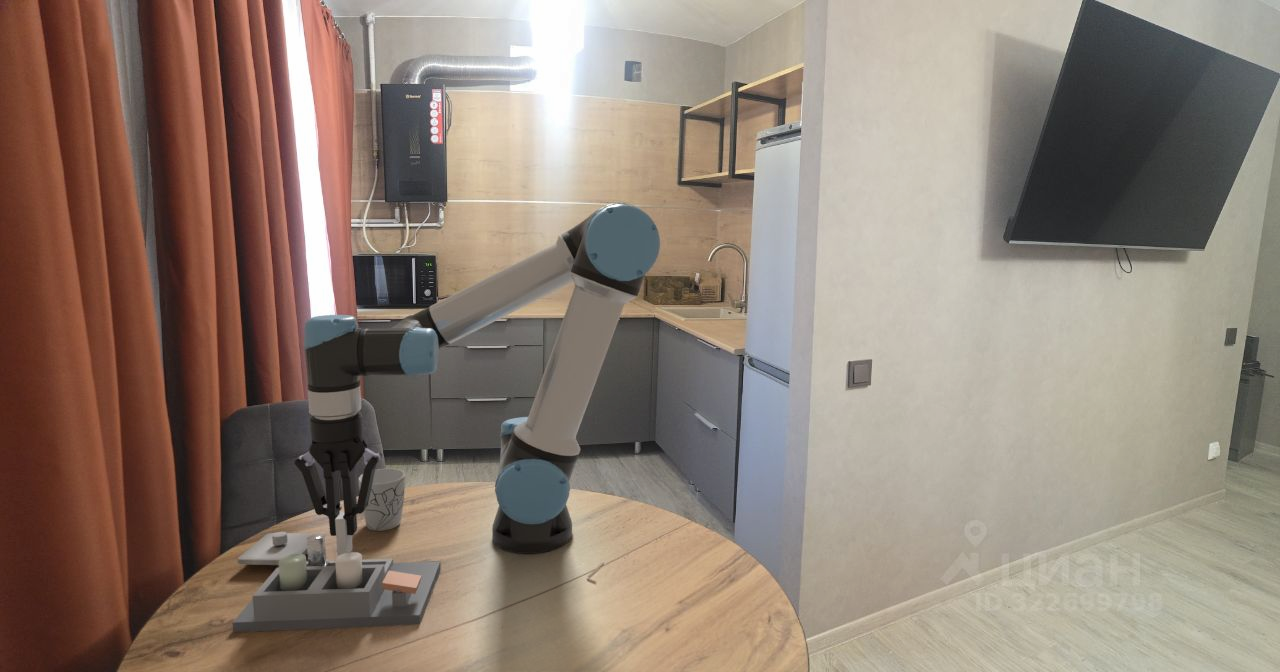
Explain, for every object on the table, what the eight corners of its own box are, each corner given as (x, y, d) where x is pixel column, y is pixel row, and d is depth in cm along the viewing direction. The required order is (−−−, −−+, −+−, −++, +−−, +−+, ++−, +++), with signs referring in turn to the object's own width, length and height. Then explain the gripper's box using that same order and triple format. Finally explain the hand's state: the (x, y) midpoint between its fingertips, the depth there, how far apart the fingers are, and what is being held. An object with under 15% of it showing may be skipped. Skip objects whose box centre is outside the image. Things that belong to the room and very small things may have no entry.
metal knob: (329, 568, 109) (327, 533, 108) (323, 577, 106) (321, 541, 105) (312, 568, 108) (309, 533, 107) (305, 577, 106) (303, 541, 105)
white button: (365, 576, 101) (364, 551, 100) (358, 588, 97) (357, 563, 97) (341, 576, 100) (340, 552, 100) (333, 589, 97) (331, 564, 96)
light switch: (295, 576, 110) (293, 547, 109) (236, 575, 109) (234, 546, 109) (322, 547, 119) (321, 521, 118) (268, 547, 119) (266, 520, 118)
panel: (440, 569, 112) (439, 539, 112) (419, 624, 97) (418, 589, 96) (281, 574, 110) (279, 543, 109) (233, 632, 94) (230, 596, 93)
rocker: (420, 582, 102) (421, 575, 102) (414, 596, 98) (416, 588, 98) (387, 577, 101) (388, 570, 101) (380, 591, 97) (382, 583, 97)
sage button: (311, 577, 100) (309, 553, 99) (301, 590, 96) (300, 565, 96) (286, 578, 99) (284, 554, 99) (276, 591, 96) (274, 566, 95)
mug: (382, 507, 137) (381, 461, 135) (421, 510, 136) (419, 464, 134) (351, 532, 126) (349, 482, 124) (393, 535, 124) (391, 485, 123)
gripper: (385, 406, 108) (392, 540, 112) (302, 407, 106) (312, 543, 110) (371, 419, 100) (379, 562, 104) (282, 420, 99) (293, 566, 103)
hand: (345, 552), depth 107 cm, fingers closed
